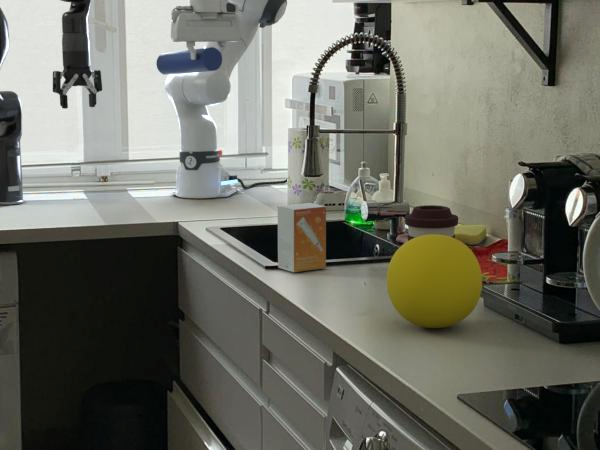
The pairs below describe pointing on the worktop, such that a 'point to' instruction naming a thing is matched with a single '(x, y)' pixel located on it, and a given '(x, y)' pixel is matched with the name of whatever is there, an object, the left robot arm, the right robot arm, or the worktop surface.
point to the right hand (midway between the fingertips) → (206, 59)
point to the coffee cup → (431, 221)
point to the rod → (189, 61)
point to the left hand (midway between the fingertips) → (78, 107)
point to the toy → (434, 281)
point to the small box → (301, 237)
